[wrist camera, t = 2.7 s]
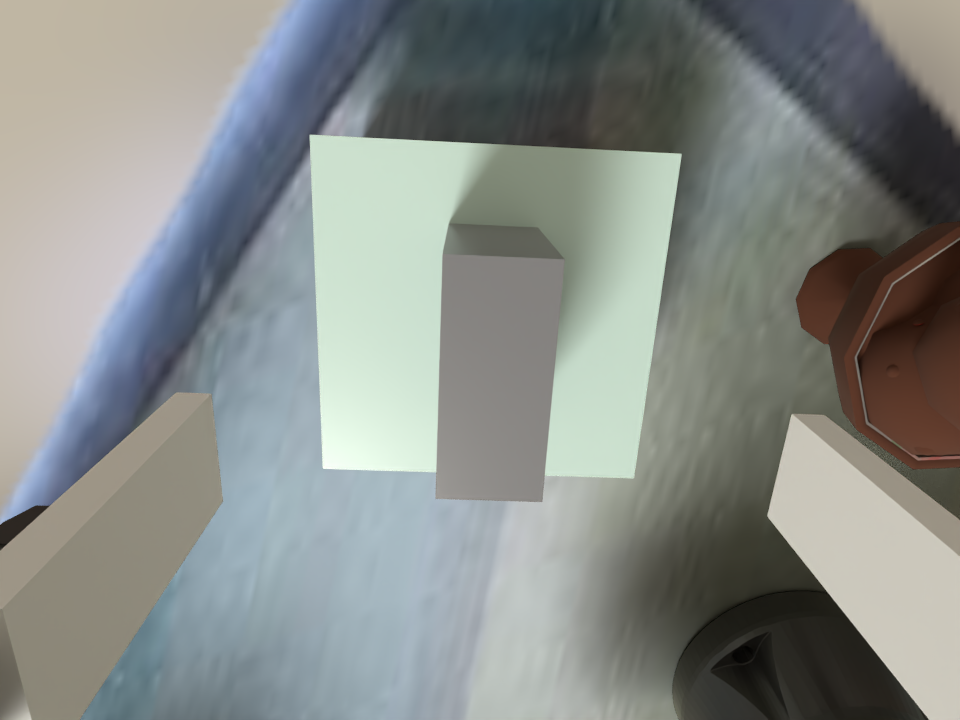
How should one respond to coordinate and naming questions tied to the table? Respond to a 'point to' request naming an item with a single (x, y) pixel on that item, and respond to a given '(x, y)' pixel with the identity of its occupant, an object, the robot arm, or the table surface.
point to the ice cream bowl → (895, 342)
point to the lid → (486, 308)
